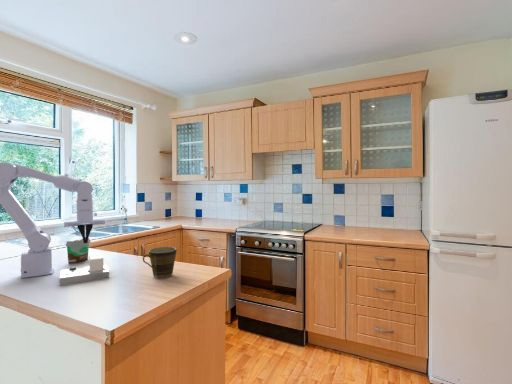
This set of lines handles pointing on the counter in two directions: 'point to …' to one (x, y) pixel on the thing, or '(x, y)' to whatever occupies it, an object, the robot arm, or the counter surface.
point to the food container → (77, 251)
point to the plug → (96, 263)
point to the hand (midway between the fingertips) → (85, 242)
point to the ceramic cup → (162, 261)
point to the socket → (82, 275)
